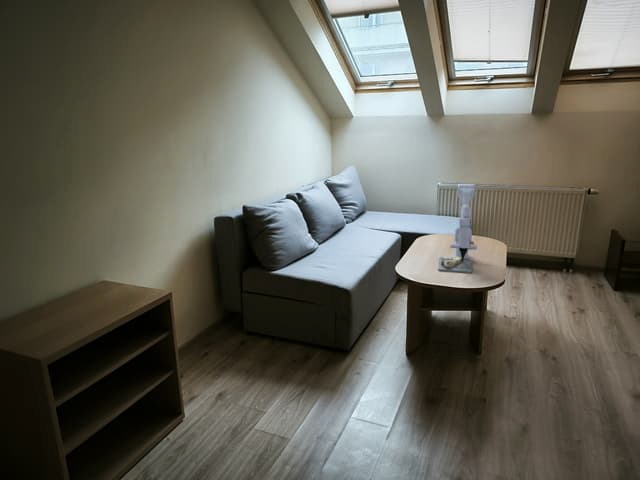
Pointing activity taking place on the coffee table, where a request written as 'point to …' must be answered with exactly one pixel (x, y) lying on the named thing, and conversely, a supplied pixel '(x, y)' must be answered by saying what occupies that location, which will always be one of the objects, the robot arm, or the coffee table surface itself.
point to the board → (457, 266)
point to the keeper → (445, 259)
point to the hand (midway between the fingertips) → (462, 260)
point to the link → (453, 262)
